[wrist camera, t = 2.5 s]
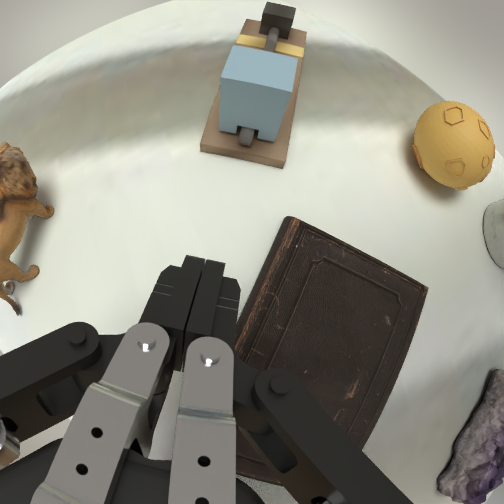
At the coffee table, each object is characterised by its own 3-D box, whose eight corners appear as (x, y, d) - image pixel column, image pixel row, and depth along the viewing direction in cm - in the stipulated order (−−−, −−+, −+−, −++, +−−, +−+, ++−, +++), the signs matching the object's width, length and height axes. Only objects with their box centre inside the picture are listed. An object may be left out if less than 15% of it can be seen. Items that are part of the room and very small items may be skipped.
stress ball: (391, 119, 31) (435, 71, 21) (448, 136, 32) (493, 100, 22) (406, 195, 29) (465, 157, 20) (464, 205, 31) (520, 178, 21)
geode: (460, 495, 24) (495, 521, 14) (415, 483, 25) (451, 517, 16) (527, 378, 27) (571, 382, 17) (492, 350, 29) (543, 352, 19)
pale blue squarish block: (280, 109, 27) (297, 58, 20) (274, 141, 26) (292, 92, 19) (228, 98, 27) (233, 45, 20) (218, 130, 26) (220, 77, 19)
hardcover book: (416, 289, 28) (428, 287, 26) (326, 485, 24) (333, 495, 21) (282, 220, 28) (287, 213, 26) (179, 442, 23) (176, 453, 21)
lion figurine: (28, 175, 25) (-17, 138, 17) (65, 175, 26) (22, 132, 17) (5, 311, 23) (-53, 308, 14) (41, 320, 23) (-17, 322, 14)
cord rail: (304, 39, 32) (313, 12, 27) (282, 168, 28) (294, 142, 23) (245, 26, 32) (249, -2, 27) (200, 151, 28) (198, 121, 23)
